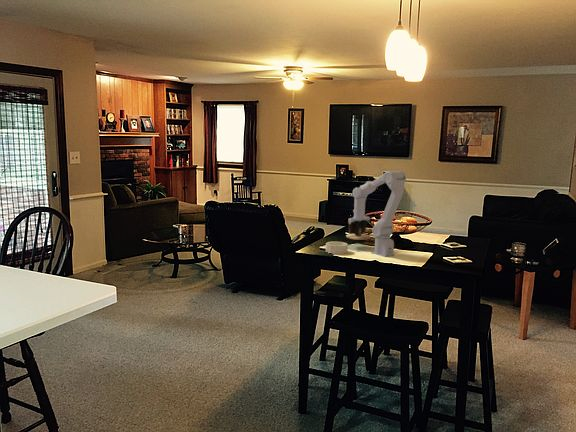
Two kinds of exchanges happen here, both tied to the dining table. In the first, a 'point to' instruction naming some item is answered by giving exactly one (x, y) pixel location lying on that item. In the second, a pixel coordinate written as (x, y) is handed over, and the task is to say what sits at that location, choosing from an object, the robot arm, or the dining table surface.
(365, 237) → the lid
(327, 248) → the bowl
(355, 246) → the mat
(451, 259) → the dining table surface
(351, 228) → the coffee mug
